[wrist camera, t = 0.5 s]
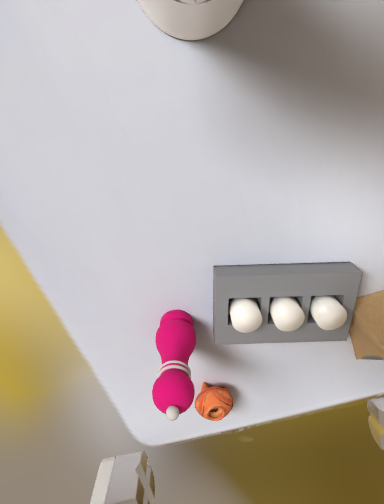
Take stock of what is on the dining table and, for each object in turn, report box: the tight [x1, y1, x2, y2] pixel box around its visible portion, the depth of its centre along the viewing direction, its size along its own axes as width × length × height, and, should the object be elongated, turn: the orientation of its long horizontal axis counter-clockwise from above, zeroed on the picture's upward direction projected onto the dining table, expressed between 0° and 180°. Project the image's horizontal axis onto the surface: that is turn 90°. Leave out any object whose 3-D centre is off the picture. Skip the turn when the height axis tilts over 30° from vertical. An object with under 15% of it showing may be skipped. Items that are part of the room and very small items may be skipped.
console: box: [213, 262, 363, 345], centre depth 53 cm, size 15×24×4 cm, turn 91°
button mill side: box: [229, 298, 262, 333], centre depth 51 cm, size 5×5×4 cm
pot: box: [195, 382, 233, 421], centre depth 62 cm, size 8×8×7 cm
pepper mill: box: [152, 310, 196, 421], centre depth 48 cm, size 7×7×20 cm
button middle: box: [269, 296, 305, 332], centre depth 51 cm, size 5×5×4 cm
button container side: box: [309, 295, 347, 330], centre depth 51 cm, size 5×5×4 cm
